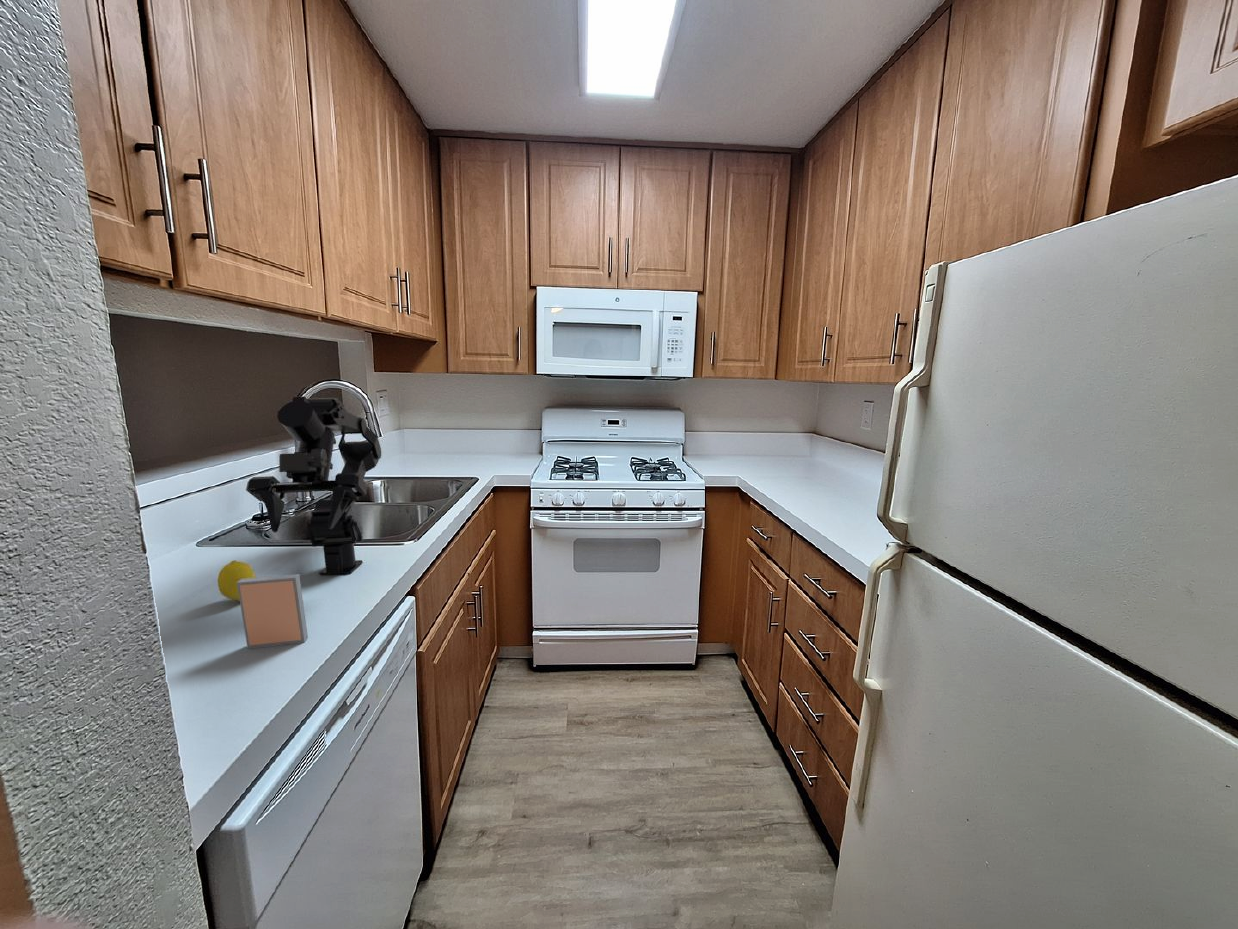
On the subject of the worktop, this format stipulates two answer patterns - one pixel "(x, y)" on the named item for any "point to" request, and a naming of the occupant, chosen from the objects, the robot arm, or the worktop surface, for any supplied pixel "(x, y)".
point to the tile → (272, 610)
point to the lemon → (233, 578)
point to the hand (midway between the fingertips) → (302, 530)
